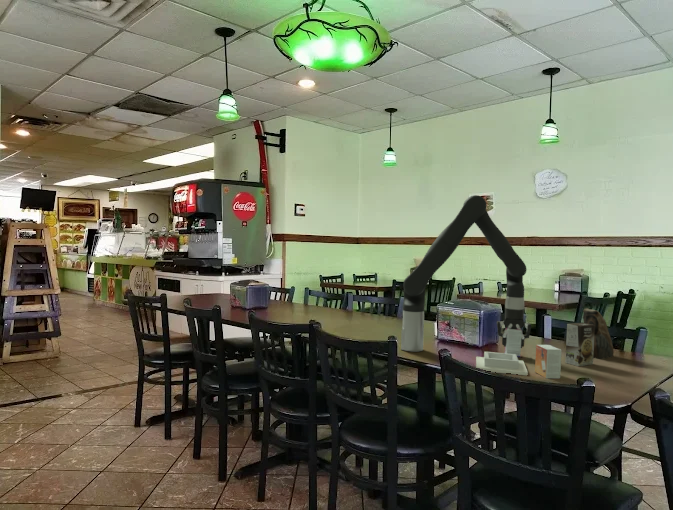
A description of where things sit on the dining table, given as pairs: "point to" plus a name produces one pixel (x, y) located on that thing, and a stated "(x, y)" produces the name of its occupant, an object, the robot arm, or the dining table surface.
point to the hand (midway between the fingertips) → (512, 346)
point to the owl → (599, 334)
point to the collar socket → (501, 363)
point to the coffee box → (580, 344)
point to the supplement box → (513, 342)
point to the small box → (548, 361)
